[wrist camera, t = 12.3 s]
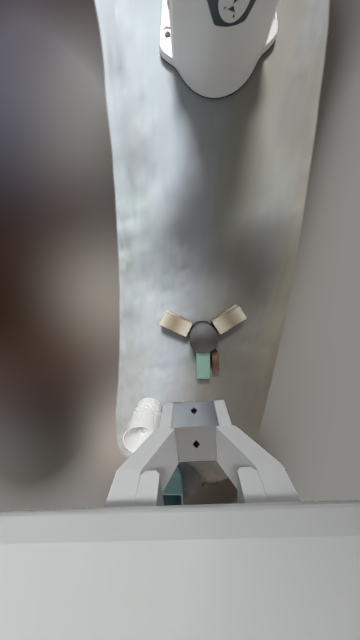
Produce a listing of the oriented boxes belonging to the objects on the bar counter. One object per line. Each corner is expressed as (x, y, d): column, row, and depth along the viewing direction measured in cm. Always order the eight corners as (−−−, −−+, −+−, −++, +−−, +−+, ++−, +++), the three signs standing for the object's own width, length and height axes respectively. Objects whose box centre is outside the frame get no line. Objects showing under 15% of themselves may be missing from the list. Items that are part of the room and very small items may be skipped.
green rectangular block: (195, 347, 45) (196, 353, 42) (208, 347, 45) (210, 352, 42) (196, 371, 47) (196, 378, 44) (208, 371, 47) (209, 378, 44)
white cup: (164, 420, 51) (159, 456, 41) (135, 419, 51) (123, 454, 42) (164, 396, 49) (159, 427, 39) (134, 394, 49) (121, 425, 40)
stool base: (159, 310, 43) (156, 314, 39) (242, 303, 42) (249, 307, 38) (165, 368, 47) (163, 378, 43) (242, 363, 46) (248, 373, 42)
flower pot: (152, 458, 55) (146, 494, 46) (183, 458, 54) (182, 494, 46) (154, 481, 57) (149, 519, 48) (183, 481, 57) (183, 519, 48)
